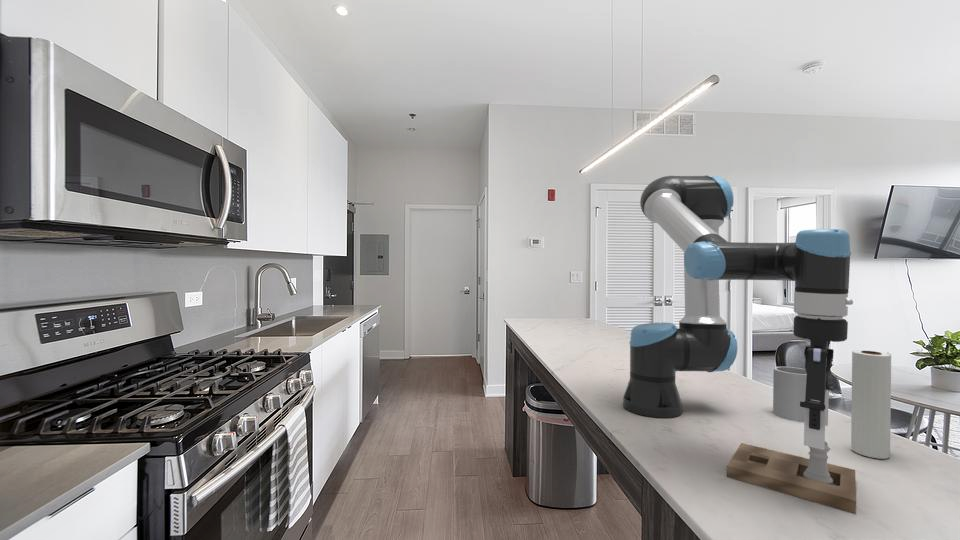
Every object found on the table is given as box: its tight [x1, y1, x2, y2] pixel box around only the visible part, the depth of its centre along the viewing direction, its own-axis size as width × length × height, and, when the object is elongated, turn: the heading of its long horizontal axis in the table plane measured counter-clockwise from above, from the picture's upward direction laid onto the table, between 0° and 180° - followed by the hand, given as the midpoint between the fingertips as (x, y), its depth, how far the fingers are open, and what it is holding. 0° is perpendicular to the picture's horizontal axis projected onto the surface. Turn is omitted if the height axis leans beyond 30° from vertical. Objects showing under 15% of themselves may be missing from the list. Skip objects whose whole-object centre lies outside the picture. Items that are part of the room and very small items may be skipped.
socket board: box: [726, 442, 857, 514], centre depth 79 cm, size 18×14×2 cm
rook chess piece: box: [802, 441, 834, 485], centre depth 76 cm, size 4×4×8 cm
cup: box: [772, 366, 807, 423], centre depth 113 cm, size 9×9×12 cm
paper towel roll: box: [850, 350, 892, 460], centre depth 90 cm, size 7×6×21 cm
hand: (816, 434), depth 77 cm, fingers open, 13 cm apart
